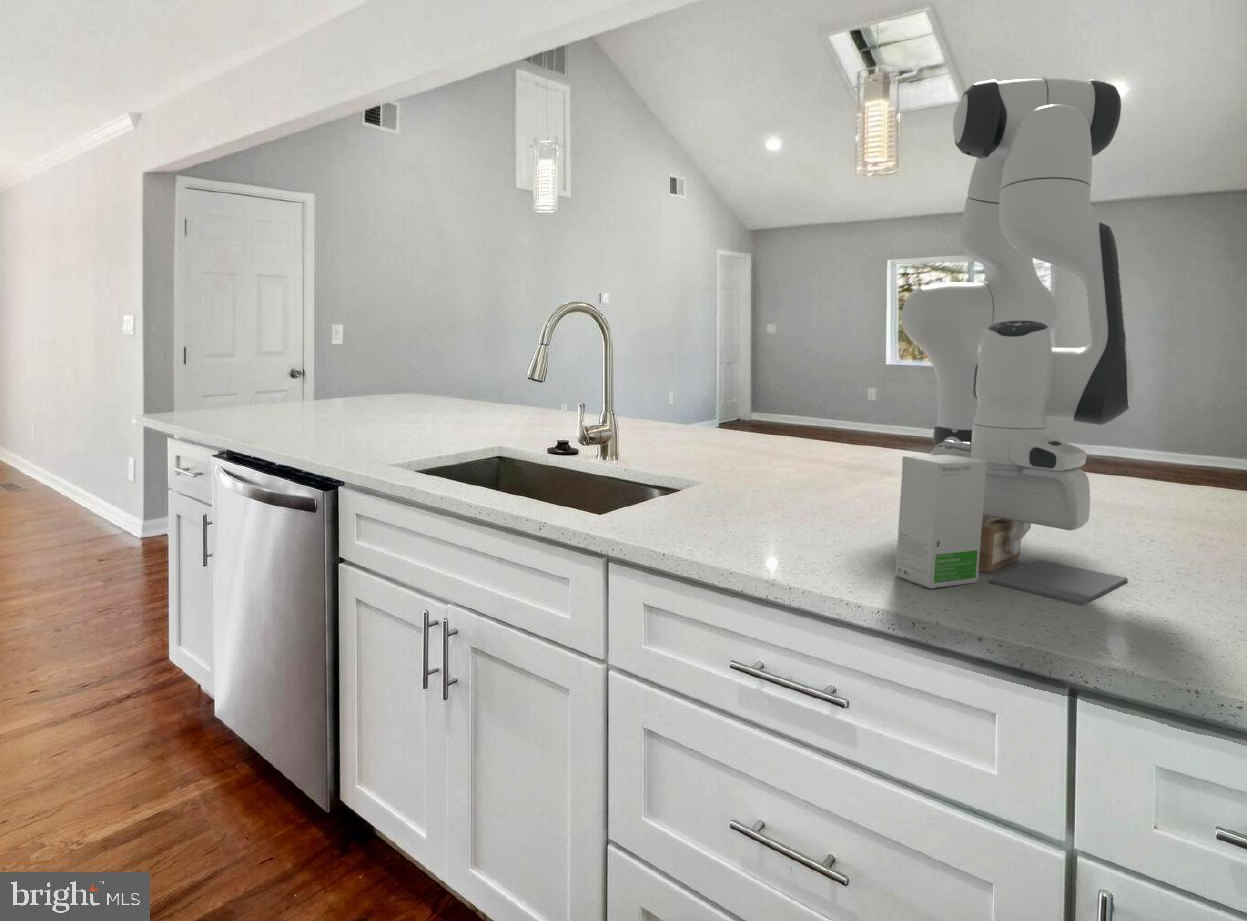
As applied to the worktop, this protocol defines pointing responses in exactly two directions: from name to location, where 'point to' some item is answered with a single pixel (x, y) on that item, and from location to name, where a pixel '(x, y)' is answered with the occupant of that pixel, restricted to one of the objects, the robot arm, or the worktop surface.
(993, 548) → the walnut slab
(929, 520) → the skincare box
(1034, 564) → the slate mat
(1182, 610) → the worktop surface
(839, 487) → the worktop surface
